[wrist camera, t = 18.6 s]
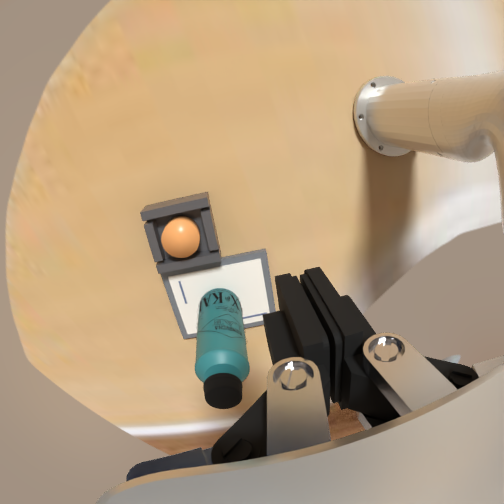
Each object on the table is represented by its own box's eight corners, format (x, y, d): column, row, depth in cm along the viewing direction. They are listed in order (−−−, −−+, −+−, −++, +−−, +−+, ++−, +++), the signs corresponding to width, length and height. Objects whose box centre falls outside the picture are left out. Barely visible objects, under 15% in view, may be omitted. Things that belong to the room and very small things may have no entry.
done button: (195, 212, 40) (194, 217, 38) (203, 246, 42) (203, 253, 40) (160, 220, 40) (156, 226, 37) (169, 253, 42) (166, 261, 39)
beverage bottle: (239, 316, 48) (254, 416, 30) (198, 316, 47) (194, 417, 29) (241, 281, 46) (259, 378, 27) (197, 280, 45) (190, 379, 27)
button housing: (207, 191, 41) (207, 197, 38) (220, 251, 45) (221, 261, 41) (145, 205, 41) (140, 212, 37) (162, 263, 44) (158, 273, 41)
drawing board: (265, 248, 45) (266, 251, 44) (276, 318, 50) (277, 322, 49) (160, 269, 45) (159, 272, 44) (184, 336, 50) (183, 340, 49)
